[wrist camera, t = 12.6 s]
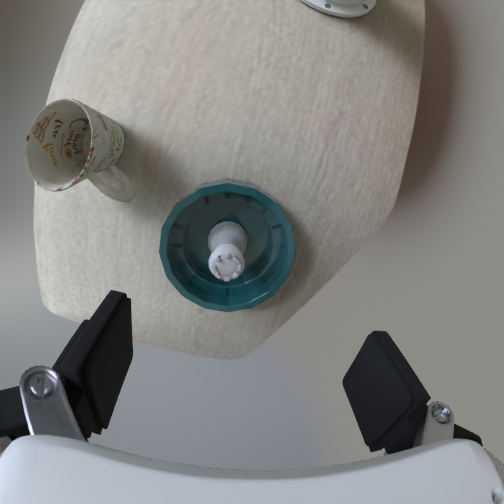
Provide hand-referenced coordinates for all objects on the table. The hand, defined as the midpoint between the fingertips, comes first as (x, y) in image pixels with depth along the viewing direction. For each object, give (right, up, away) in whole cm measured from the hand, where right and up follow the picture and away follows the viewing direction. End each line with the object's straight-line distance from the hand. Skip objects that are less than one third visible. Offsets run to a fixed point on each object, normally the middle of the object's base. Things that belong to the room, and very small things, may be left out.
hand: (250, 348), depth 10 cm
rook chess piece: (-3, +5, +22) cm, 22 cm away
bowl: (-3, +5, +22) cm, 23 cm away
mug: (-16, +15, +18) cm, 28 cm away
